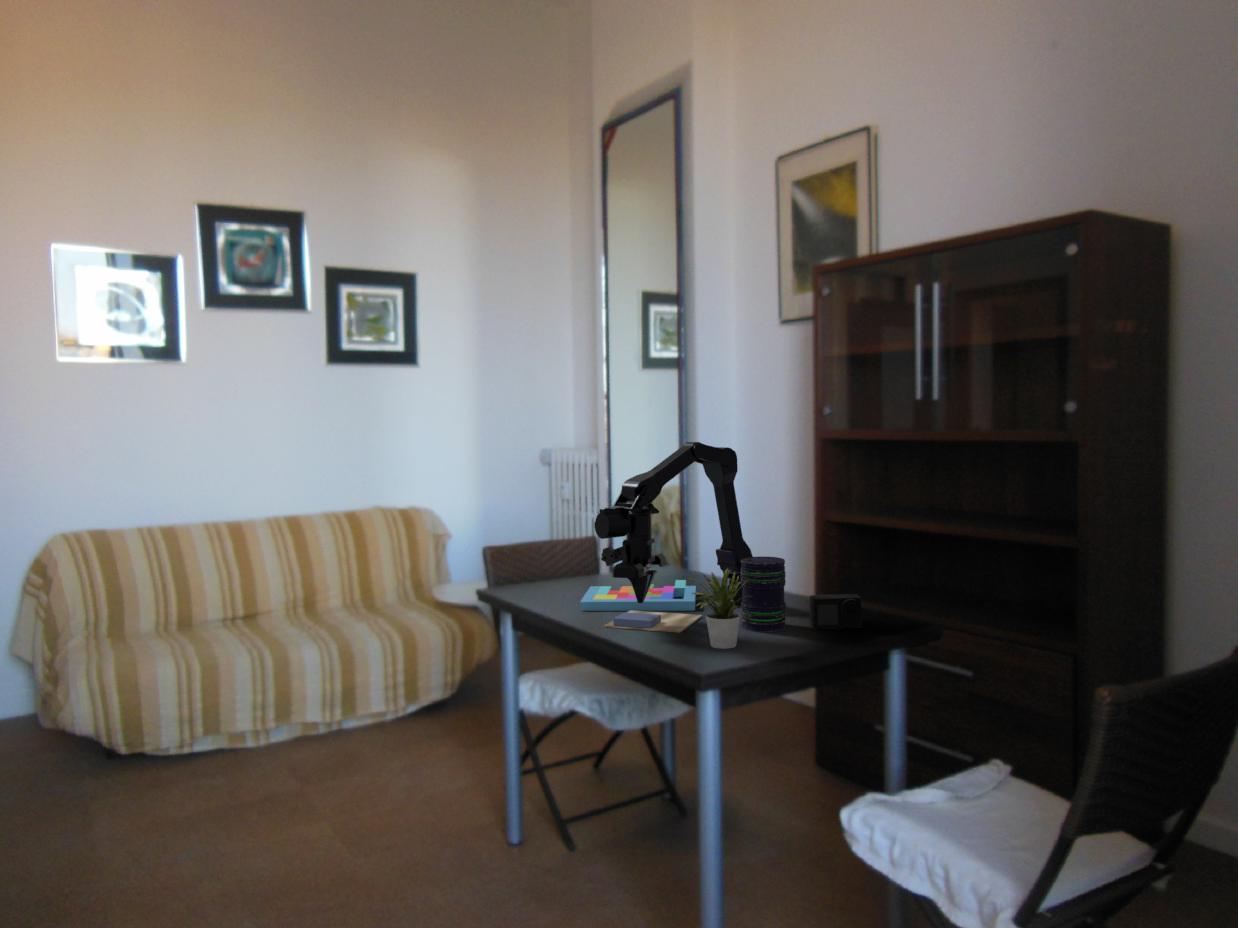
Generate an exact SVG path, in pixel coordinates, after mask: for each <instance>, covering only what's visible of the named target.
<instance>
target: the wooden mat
mask: <svg viewBox="0 0 1238 928" xmlns="http://www.w3.org/2000/svg"><path fill="white" fill-rule="evenodd" d="M626 612H627V613H642V614H658V615H661V622H660V623H658V624H657V625H655V626H654V627H652V628H641V627H628V626H614V625H613V620H611V621H609V622H607V623H606V624H604V625H603V627H604V628H613V629H623V630H624V629H625V630H637V631H640V630H641V631H652V632H653V631H654V632H663V633H664V632H666V633H682V632H683V631H684V630H686V629H688V628H689V627H690V626H691V625H694V623H696V622H697V621H698V620H700V618H702V617H703V614H689V613H675V612H663V611H632V610H630V611H626Z"/></svg>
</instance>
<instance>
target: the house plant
mask: <svg viewBox="0 0 1238 928" xmlns="http://www.w3.org/2000/svg"><path fill="white" fill-rule="evenodd" d="M731 570H732V569H731ZM731 570H729V571H731ZM729 571H728V568H727V569H726V570H725V572H724V574H723V576H722V578H721V579H722V580H721V584H720V582H719V580H718V578H717V576H716V575H715V574H714V573H713V572H712V571H711V577H712V580H711V579H710V578H708V577H707V576H706V575H705V574H704V573H702V572H700V571H696V570H695V572H696V573H699V574H700V575H702V577H703V578H705V579H704V580H706V582H707V584H708V585H709V586H707V587H706V584H705V583H703V582H702V581H700V583H699V580H698V579H695V578H692V580H695V581H697V582H695V581H694V582H691V583H696V584H699V585H700V586H701V587H703V589H704V590H705V591H706V592H707V593H706V592H700V591H697V590H696V593H692V594H695V595H696V596H697V595H698V596H699V597H696V598H692V599H696V600H700V599H701V602H697V604H695V608H696V607H697V606H700V607H699V610H701V609H702V608H703V607H705V606H708V608H709V609H711V611H712V612H709V613H707V614H705V621H706V625H707V631H708V636H709V638H708V639H709V643H710V646H711V647H712V648H715V649H720V650H724V649H725V650H727V649H732V648H735V647H737V643H738V642H737V641H738V635H739V627H740V620H741V614H740V613H737V612H734V611H735V610H736V609H737V608H740V610H742V609H741V606H734V605H735V603H736V602H737V601H738V600H740V599H742V598H744V597H752V596H744V597H742V598H740V599H738V600H737V601H736V602H735V601H733V599H734V597H735V595H736V594H737V592H738V591H739V589H740V588H741V587H742V586H743V585H744V584H745V583H746V582H747V581H748V580H747V581H746V582H744V583H743V584H742V586H741V587H740V588H739V589H738V590H737V587H738V586H739V584H740V583H741V582H742V581H741V582H738V579H739V575H738V577H737V579H736V581H735V583H734V579H735V572H734V574H733V577H732V580H731V584H730V587H729V590H728V594H727V586H728V581H729V579H728V574H729ZM686 579H688V580H690V578H689V577H688V578H686ZM686 579H685V580H686ZM733 583H734V586H733ZM732 586H733V587H732ZM736 590H737V591H736ZM709 591H710V592H711V593H712V594H711V593H710V592H709ZM702 599H704V600H705V601H704V600H702ZM732 601H733V602H732ZM731 603H732V604H731Z"/></svg>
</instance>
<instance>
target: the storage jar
mask: <svg viewBox="0 0 1238 928" xmlns="http://www.w3.org/2000/svg"><path fill="white" fill-rule="evenodd" d="M741 564H742V566H741V573H740V574H741V581H742V582H741V585H742V584H743V583H744V582H746V581H747V580H748V581H747V582H746V583H745V584H744V585H743V586H742V597H744V596H752V597H744V598H742V600H743V601H742V602H741V607H740V608H741V609H740V617H741V622H742V623H741V628H742V629H743V630H746V631H749V632H757V633H772V632H780V630H781V631H783V629H784V630H785V629H786V628H787V627H786V625H787V624H786V620H787V619H786V617H787V610H786V608H787V603H786V601H785V585H786V582H787V581H786V567H785V564H786V560H785V559H784V558H782V557H777V556H753V557H748V558H743V559H741Z"/></svg>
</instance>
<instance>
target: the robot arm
mask: <svg viewBox="0 0 1238 928" xmlns="http://www.w3.org/2000/svg"><path fill="white" fill-rule="evenodd" d="M694 463H697V464H700V465H702V466H703V471H704V473H705V475H706V477H707V478H708V479H709V481H710V482H711V484H712V486H713V491H714V492H713V493H714V497H715V504H716V508H717V514H718V521H719V527H720V532H721V541H722V542H721V545H720V548H717V549H715V555H716V559H717V564H716V566H719V569H720V571H722V574H723V575H724V572H725V570H726V569H727V568H728V571H729V570H731V569H732V570H731V571H729V574H728V581H729V582H728V583H729V584H727V594H728V590H729V587H730V584H731V580H732V577H733V574H734V572H735V579H734V583H735V581H736V579H737V577H738V575H739V579H738V582H741V574H740V573H741V566H742V564H741V559H743V558H748V557H754V555H753V553H752V549H751V548H750V546H749V545H748V543H746V541H745V539H744V537H743V531H742V526H741V525H742V524H741V520H740V519H741V518H740V515H739V507H738V502H737V494H736V489H735V485H734V484H735V483H734V482H735V479H736V476H737V473H738V468H739V466H738V456H737V453H736V451H735V450H733V449H732V448H731V447H726V446H725V447H720V446H717V447H716V446H711V445H707V444H705V443H701V442H700V441H686V442H685V443H682V445H681V447H679V448H678V449H677V450H675V451H674V452H673V453H671V454H670V455H669V456H668V457H666V458H664V459H663V460H662V461H660V462H659V463H658V464H657V465H655V466H654V467H653V468H651V469H650V470H648V471H646V472H643V473H639V474H636V475H634V476H631V477H630V478H628V479H626V480H625V481H624V482H623V483H622V485H621V489H620V492H619V494H618V495H617V497H616V500H615V501H614V503H613V504H612V507H600V508H599V513H598V514H597V515H596V518H595V521H594V525H593V526H594V531H595V534H596V536H597V538H600V539H602V540H605V539H612V538H613V539H615V538H622V537H626V539H623V540H622V541H621V542H622V546H620V547H617V548H616V547H615V548H613V547H612V546H607V547H605V548H603V549H602V553H601V557H600V558H601V559H600V560H601V561H602V562H604V563H605V566H606V567H610V566H611V565H614V564H615V565H614V566H613V567H612V568H611V569H612V570H611V571H612V573H611V575H612V576H611V577H612V578H615V579H616V578H617V579H628V581H629V582H630V583H631V586H633V589H634V592H635V595H636V599H637V602H638V603H643V602H644V600H645V597H646V595H647V592H648V590H649V588H650V585H651V584H653V580H654V579H655V576H656V574H657V573H658V570H656V569H655V570H654V569H652V565H653V566H656V565H657V566H658V567H661V568H662V567H665V566H666V564H667V563H666V556H665V555H664V554H663V553H660V552H653V544H655V542H656V541H655V540H656V539H655V537H653V535H652V534H653V532H652V515H655V514H656V515H657V514H659V513H660V510H659V509H658V508H656V506H654V504H653V502H654V501H655V500H656V499H657V498H658V497H659V496H660V494H661V493H662V489H663V487H664V486H666V484H667V483H669V482H670V481H671V480H672V479H674V478H675V477H677V476H678V475H679V474H681V473H682V472H683V471H684V470H686V469H687V468H688V467H689V466H691V465H692V464H694ZM650 566H651V567H650ZM734 583H733V586H734ZM733 586H732V587H733ZM741 586H742V585H741V583H740V584H739V586H738V587H737V590H738V589H739V588H740V587H741ZM737 590H736V591H737ZM740 598H742V587H741V588H740V589H739V591H738V592H737V594H736V595H735V597H734V599H733V601H735V602H736V601H737V600H738V599H740ZM733 601H732V602H733ZM742 601H743V600H742V599H740V600H738V601H737V602H736V603H735V605H734V606H741V602H742ZM731 604H732V603H731Z"/></svg>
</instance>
